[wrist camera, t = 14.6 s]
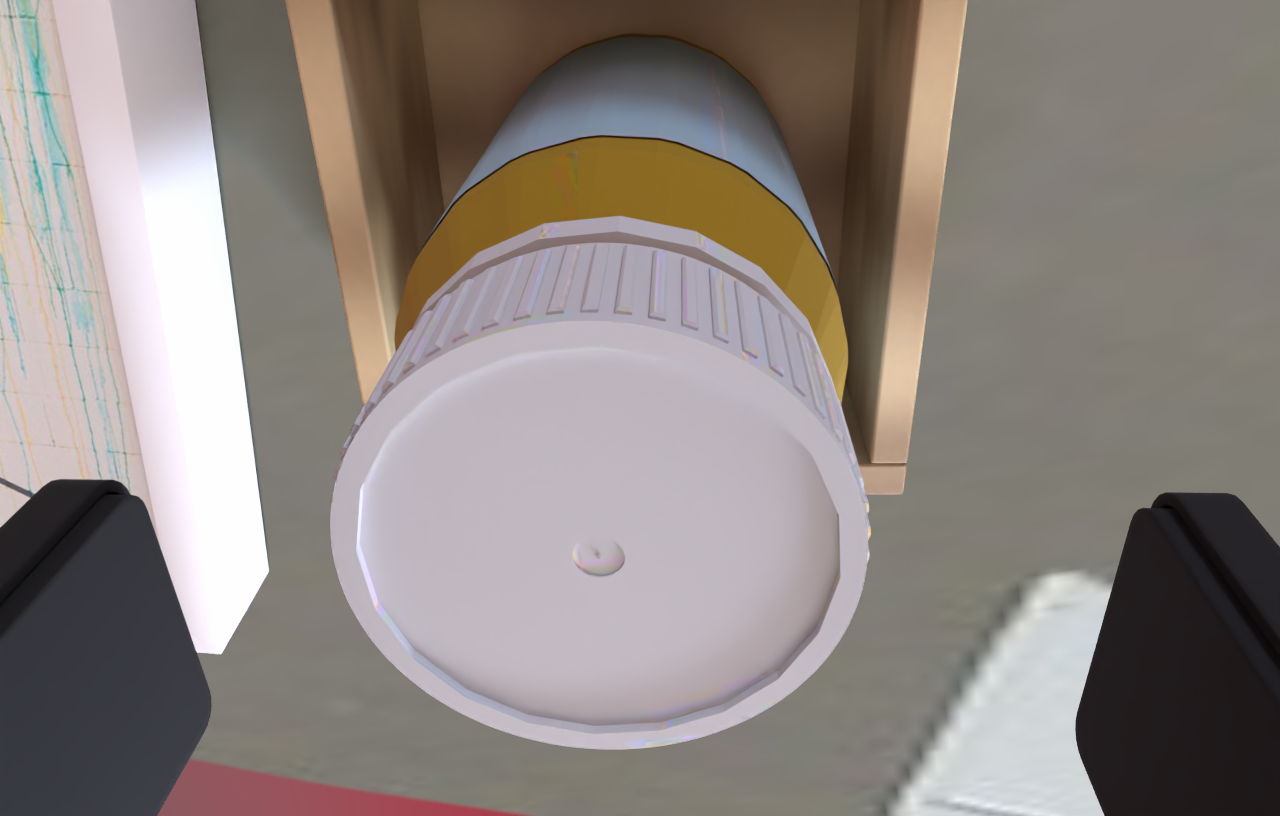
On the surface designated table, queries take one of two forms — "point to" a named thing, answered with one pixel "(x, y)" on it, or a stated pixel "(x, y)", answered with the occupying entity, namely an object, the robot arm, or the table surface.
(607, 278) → the bottle
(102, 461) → the framed art
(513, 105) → the holder
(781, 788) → the table surface
